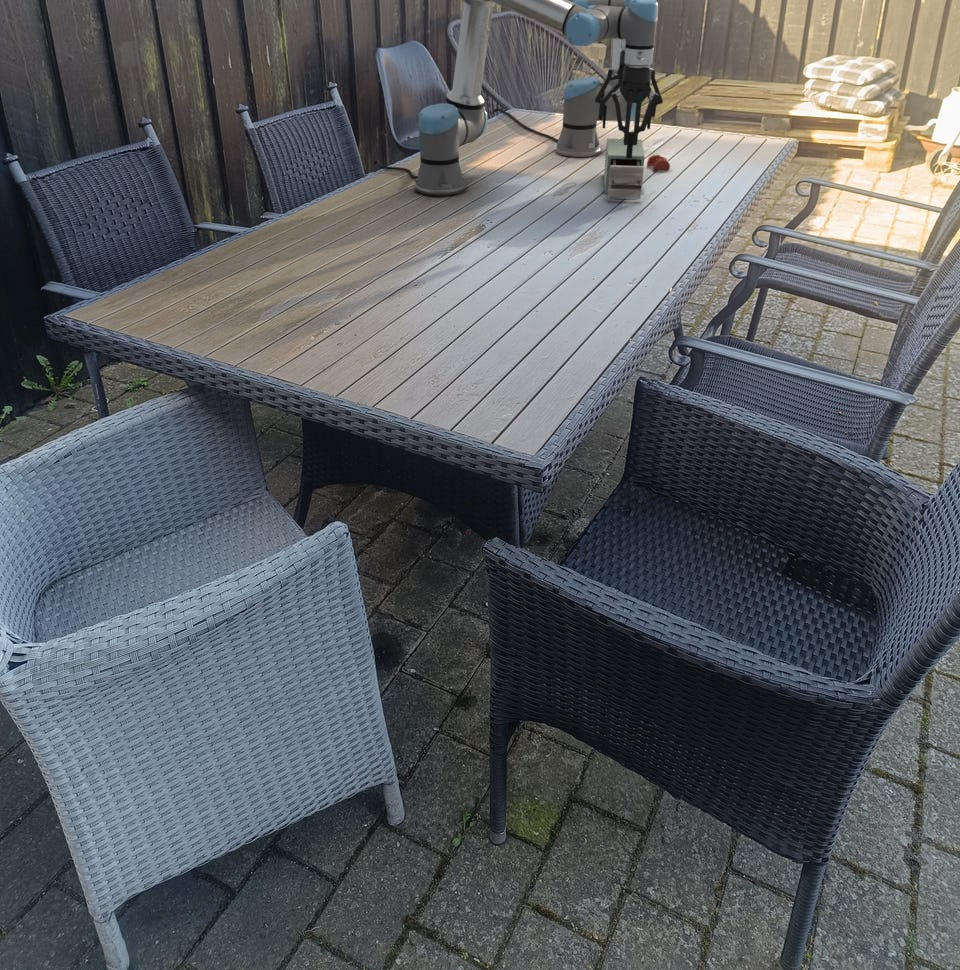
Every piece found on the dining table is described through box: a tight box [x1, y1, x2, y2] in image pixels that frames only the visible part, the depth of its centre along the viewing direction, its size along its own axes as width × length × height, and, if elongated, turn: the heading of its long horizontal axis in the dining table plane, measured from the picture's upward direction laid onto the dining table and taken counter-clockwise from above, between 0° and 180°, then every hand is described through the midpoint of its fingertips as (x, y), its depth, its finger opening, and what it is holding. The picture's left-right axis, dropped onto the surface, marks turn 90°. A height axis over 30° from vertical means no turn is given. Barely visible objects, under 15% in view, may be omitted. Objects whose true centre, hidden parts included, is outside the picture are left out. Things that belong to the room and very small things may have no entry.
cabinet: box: [603, 138, 646, 194], centre depth 260 cm, size 20×11×11 cm, turn 174°
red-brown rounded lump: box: [646, 154, 671, 172], centre depth 276 cm, size 6×4×8 cm
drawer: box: [607, 159, 645, 200], centre depth 251 cm, size 24×10×9 cm, turn 174°
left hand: (628, 156), depth 239 cm, fingers closed
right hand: (626, 127), depth 259 cm, fingers open, 13 cm apart
